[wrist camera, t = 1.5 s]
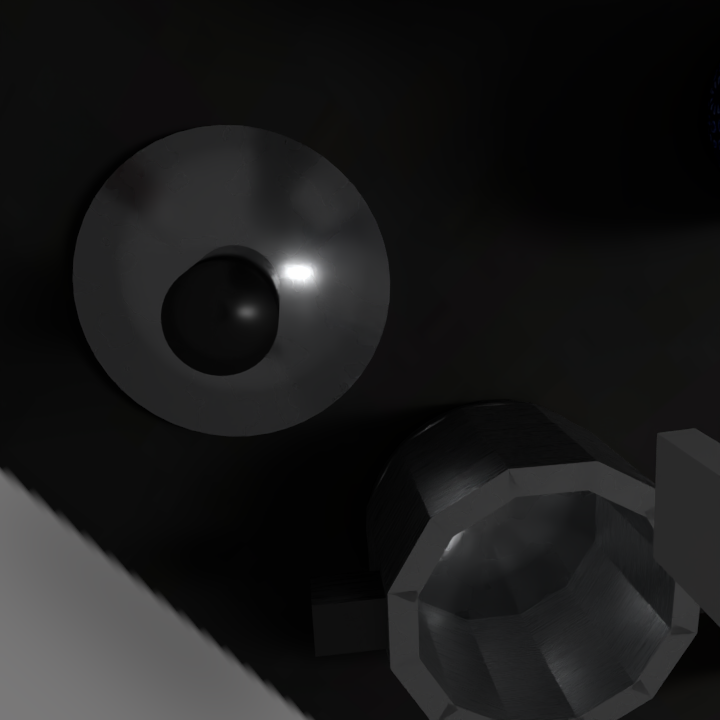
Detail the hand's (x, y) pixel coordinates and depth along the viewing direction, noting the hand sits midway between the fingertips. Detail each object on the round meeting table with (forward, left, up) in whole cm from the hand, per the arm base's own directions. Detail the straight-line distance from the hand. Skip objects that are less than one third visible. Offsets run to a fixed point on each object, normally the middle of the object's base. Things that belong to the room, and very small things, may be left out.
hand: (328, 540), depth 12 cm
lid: (-2, -3, -20) cm, 20 cm away
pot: (+11, +13, -19) cm, 25 cm away
